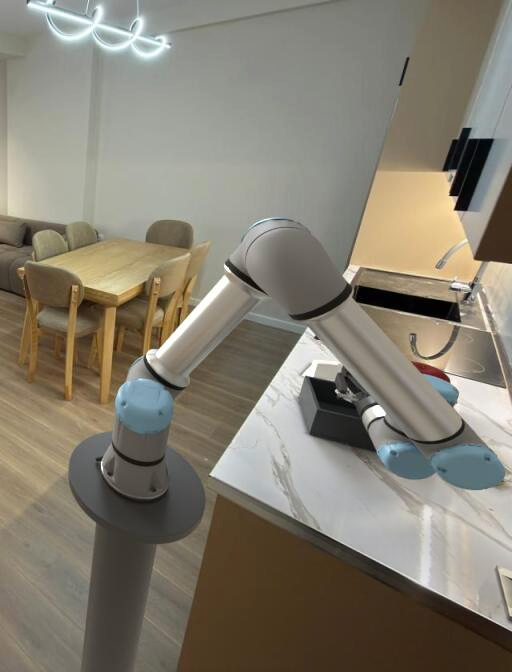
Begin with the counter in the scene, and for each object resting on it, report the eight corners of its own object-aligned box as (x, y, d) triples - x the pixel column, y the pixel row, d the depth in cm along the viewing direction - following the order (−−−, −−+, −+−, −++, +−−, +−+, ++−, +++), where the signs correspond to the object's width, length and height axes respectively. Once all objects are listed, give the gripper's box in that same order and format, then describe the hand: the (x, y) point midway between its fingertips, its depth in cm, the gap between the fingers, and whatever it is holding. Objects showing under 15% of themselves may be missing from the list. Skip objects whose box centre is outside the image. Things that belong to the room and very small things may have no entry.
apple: (442, 406, 113) (461, 366, 108) (434, 422, 106) (453, 380, 102) (386, 386, 122) (401, 348, 117) (375, 400, 115) (391, 361, 111)
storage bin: (309, 434, 103) (317, 409, 100) (298, 397, 117) (305, 375, 114) (398, 457, 95) (410, 431, 92) (375, 415, 109) (384, 391, 106)
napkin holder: (301, 375, 128) (305, 360, 126) (311, 363, 134) (315, 349, 132) (361, 397, 117) (367, 380, 115) (368, 383, 124) (374, 367, 122)
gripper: (331, 421, 91) (312, 372, 110) (428, 444, 84) (390, 387, 103) (341, 394, 88) (319, 348, 108) (442, 415, 81) (399, 362, 100)
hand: (354, 367), depth 105 cm, fingers closed on flask, 3 cm apart
